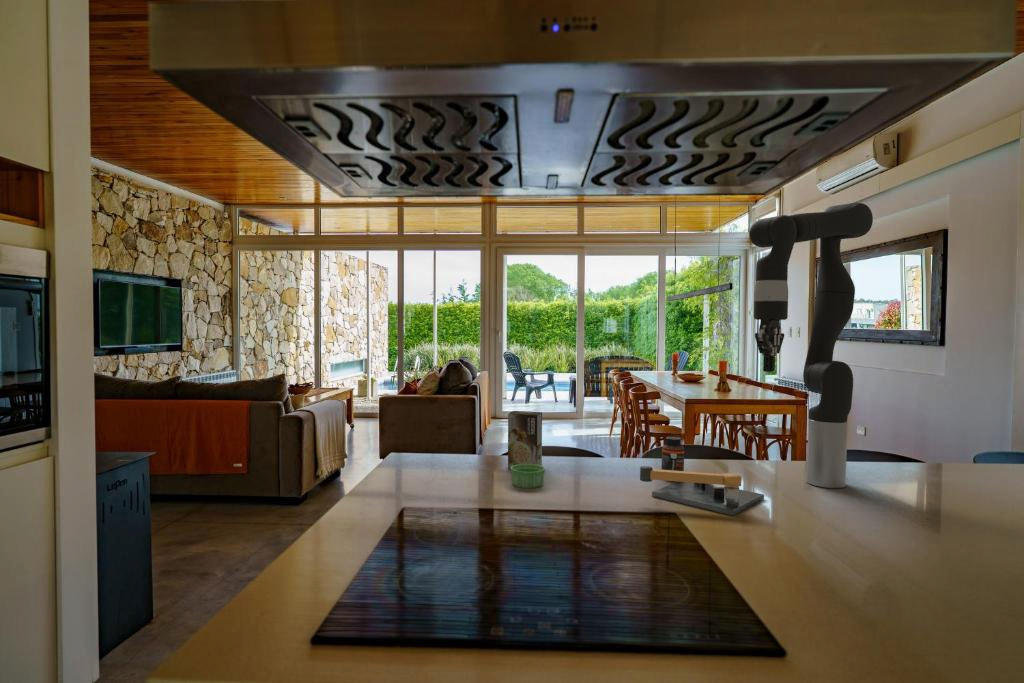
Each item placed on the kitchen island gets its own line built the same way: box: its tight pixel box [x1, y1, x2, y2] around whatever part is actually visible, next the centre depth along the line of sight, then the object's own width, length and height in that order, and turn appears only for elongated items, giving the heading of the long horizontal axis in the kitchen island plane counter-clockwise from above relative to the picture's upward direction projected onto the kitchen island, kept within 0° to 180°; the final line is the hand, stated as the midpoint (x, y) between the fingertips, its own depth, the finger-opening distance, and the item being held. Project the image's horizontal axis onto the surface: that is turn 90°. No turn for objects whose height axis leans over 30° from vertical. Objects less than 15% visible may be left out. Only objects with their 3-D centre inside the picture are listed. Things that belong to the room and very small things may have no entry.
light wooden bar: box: [639, 465, 742, 488], centre depth 135 cm, size 22×4×3 cm, turn 77°
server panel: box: [651, 481, 765, 516], centre depth 143 cm, size 19×20×5 cm
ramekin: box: [510, 464, 546, 489], centre depth 152 cm, size 9×9×4 cm
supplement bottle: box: [660, 436, 685, 471], centre depth 160 cm, size 6×6×11 cm
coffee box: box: [507, 410, 543, 470], centre depth 170 cm, size 9×6×16 cm
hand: (768, 371), depth 142 cm, fingers closed
